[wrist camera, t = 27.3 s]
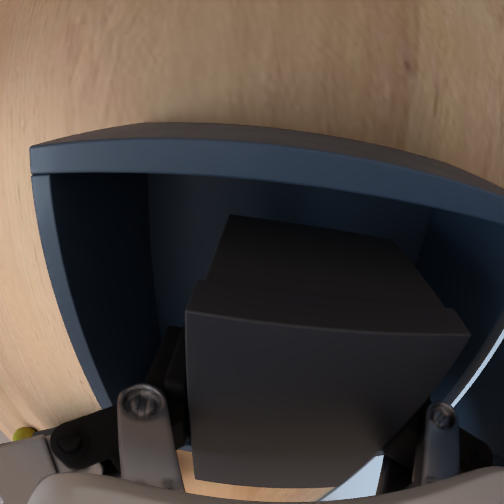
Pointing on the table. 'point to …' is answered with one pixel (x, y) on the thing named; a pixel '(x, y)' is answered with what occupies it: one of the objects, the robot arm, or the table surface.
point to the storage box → (251, 205)
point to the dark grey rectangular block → (308, 353)
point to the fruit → (23, 433)
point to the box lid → (486, 405)
